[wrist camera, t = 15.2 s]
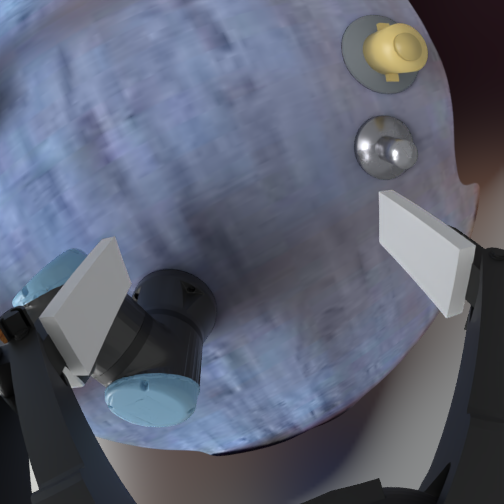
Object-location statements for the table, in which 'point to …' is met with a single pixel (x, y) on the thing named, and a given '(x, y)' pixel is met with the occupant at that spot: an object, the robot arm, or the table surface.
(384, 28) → the cap
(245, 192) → the table surface
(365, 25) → the rubber mat
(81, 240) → the table surface
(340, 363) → the table surface
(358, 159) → the metal disc with peg
